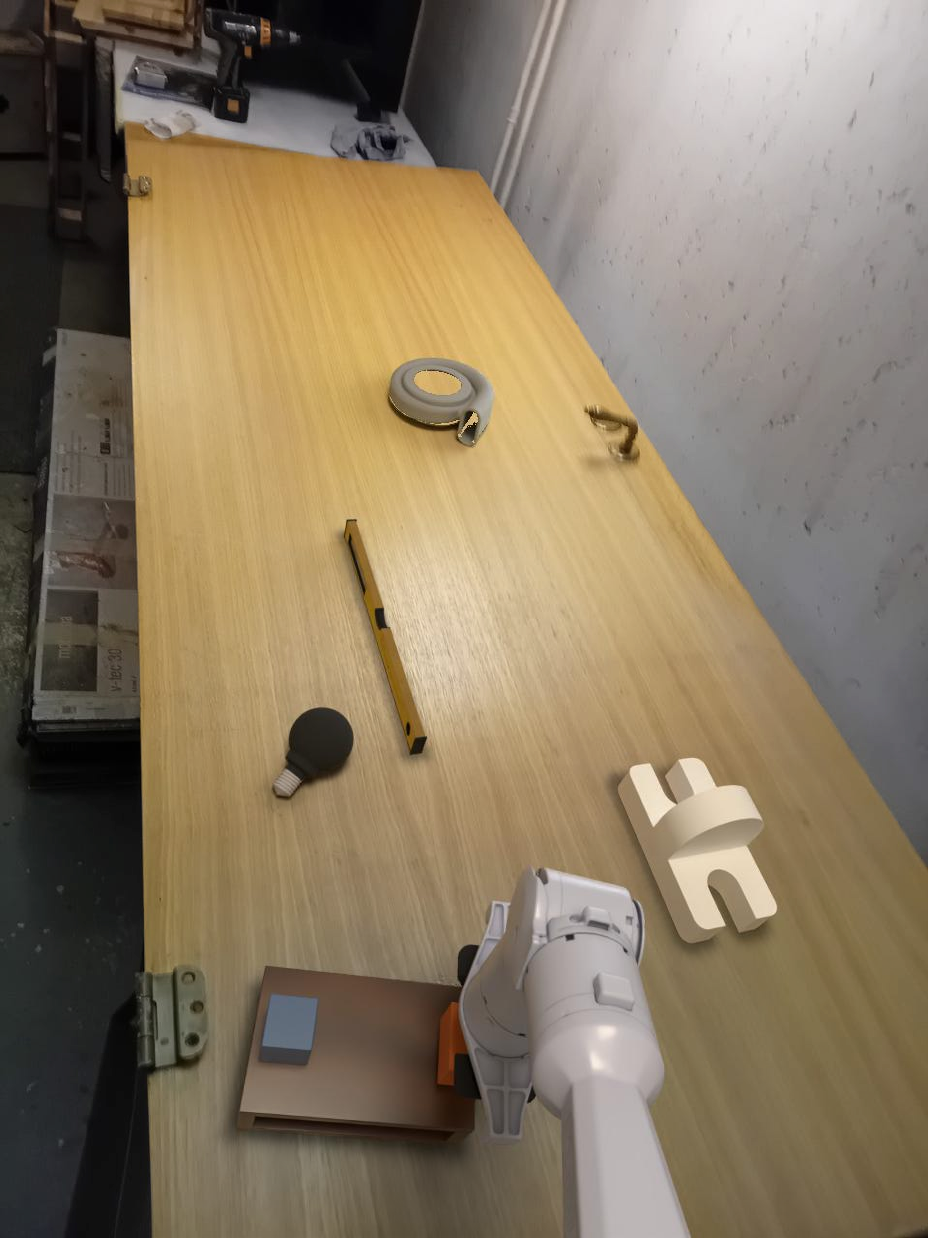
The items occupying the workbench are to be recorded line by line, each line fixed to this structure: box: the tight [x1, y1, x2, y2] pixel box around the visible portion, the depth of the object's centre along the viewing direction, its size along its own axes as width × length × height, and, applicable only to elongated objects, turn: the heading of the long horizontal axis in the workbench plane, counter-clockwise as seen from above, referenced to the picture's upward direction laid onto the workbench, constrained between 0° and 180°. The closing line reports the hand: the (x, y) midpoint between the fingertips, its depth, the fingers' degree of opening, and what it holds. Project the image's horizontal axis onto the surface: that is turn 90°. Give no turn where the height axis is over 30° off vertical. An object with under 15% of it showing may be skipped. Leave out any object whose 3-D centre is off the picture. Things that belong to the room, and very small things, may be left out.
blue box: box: [259, 994, 319, 1065], centre depth 59 cm, size 4×4×4 cm
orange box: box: [437, 1002, 469, 1086], centre depth 60 cm, size 4×4×4 cm
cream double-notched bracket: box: [616, 757, 778, 944], centre depth 83 cm, size 10×18×11 cm, turn 15°
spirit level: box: [343, 518, 428, 755], centre depth 96 cm, size 33×1×3 cm, turn 17°
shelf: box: [236, 965, 476, 1147], centre depth 64 cm, size 10×17×6 cm, turn 88°
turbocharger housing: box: [388, 357, 495, 447], centre depth 129 cm, size 17×6×15 cm
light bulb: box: [272, 706, 355, 797], centre depth 81 cm, size 6×6×10 cm
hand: (472, 1048), depth 60 cm, fingers closed on orange box, 4 cm apart
